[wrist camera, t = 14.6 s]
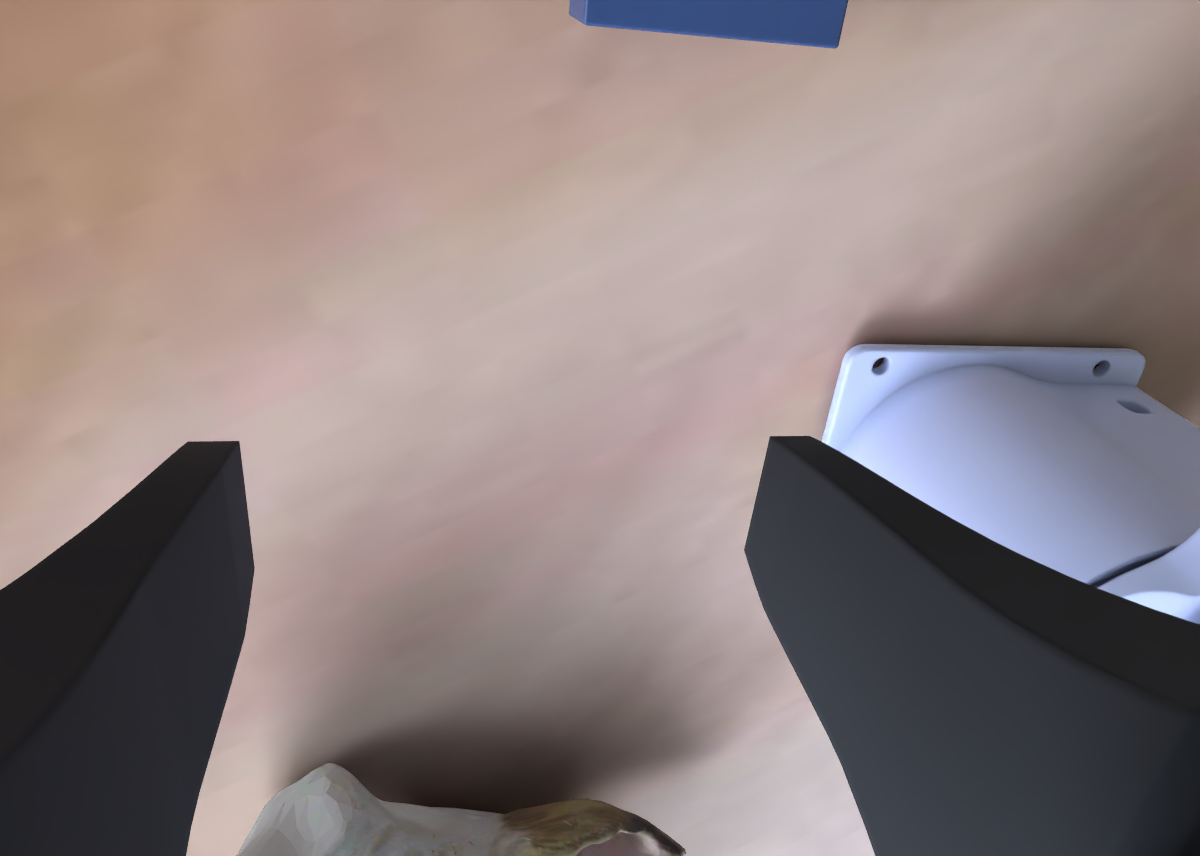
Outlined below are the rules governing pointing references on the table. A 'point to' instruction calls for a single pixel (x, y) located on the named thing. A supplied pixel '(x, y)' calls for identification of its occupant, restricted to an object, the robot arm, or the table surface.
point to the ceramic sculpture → (439, 826)
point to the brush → (723, 18)
